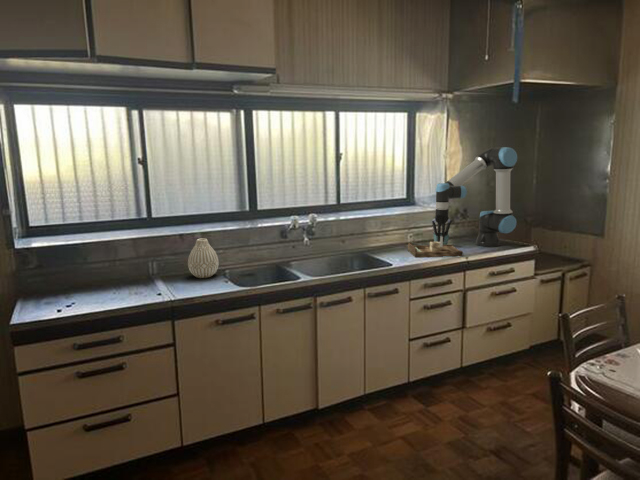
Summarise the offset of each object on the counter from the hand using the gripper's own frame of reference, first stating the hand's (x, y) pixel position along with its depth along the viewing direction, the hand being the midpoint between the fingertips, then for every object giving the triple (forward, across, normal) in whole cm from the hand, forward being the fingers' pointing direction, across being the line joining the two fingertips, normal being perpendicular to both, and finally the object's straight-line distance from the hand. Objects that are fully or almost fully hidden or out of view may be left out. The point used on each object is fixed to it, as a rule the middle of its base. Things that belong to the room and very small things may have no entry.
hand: (440, 246), depth 301 cm
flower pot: (+5, -7, -23) cm, 24 cm away
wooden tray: (+5, +3, -4) cm, 7 cm away
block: (+2, +3, -1) cm, 4 cm away
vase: (+6, +139, +35) cm, 143 cm away
